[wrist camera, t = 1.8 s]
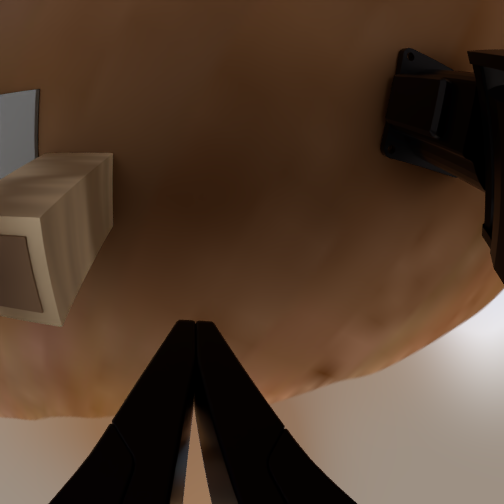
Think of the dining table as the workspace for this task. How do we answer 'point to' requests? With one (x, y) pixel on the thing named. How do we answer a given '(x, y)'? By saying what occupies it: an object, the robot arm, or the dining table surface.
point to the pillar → (52, 232)
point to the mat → (18, 130)
